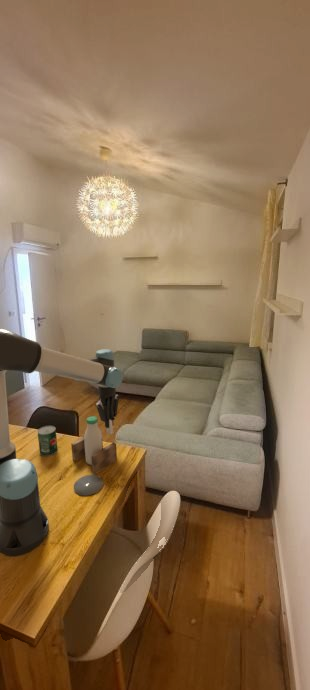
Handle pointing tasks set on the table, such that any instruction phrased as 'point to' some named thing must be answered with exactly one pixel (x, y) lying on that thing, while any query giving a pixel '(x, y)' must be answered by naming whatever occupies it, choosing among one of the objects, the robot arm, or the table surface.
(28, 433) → the table surface
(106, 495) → the table surface
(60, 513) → the table surface
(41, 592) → the table surface
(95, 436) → the milk bottle
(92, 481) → the coaster
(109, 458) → the bookends
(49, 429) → the canned tomato
